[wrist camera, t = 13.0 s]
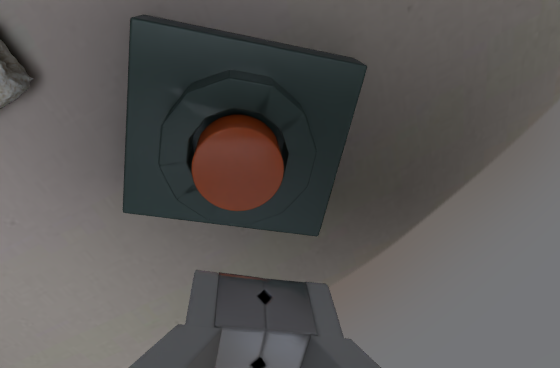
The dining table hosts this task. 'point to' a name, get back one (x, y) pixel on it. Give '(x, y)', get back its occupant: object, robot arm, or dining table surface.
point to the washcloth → (11, 77)
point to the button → (237, 163)
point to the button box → (232, 101)
